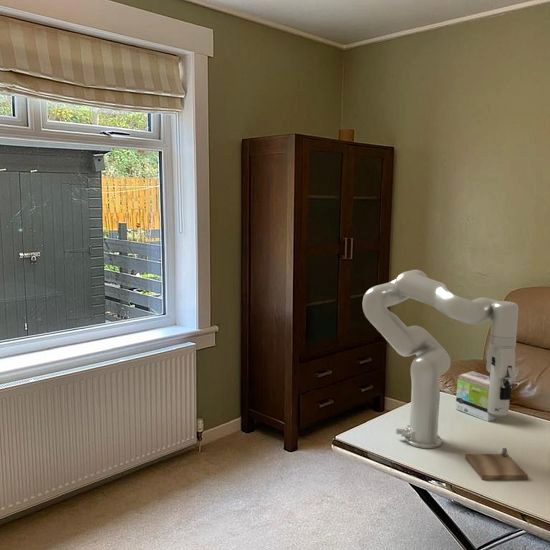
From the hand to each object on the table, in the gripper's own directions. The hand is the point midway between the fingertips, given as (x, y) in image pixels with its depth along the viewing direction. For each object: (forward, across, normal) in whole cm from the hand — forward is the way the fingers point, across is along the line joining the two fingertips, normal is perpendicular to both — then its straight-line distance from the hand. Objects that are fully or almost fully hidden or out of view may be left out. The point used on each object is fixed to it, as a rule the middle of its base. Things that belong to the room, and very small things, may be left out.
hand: (499, 395), depth 178 cm
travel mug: (+7, 0, 0) cm, 7 cm away
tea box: (+23, -40, +13) cm, 48 cm away
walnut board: (+23, +4, -2) cm, 23 cm away
